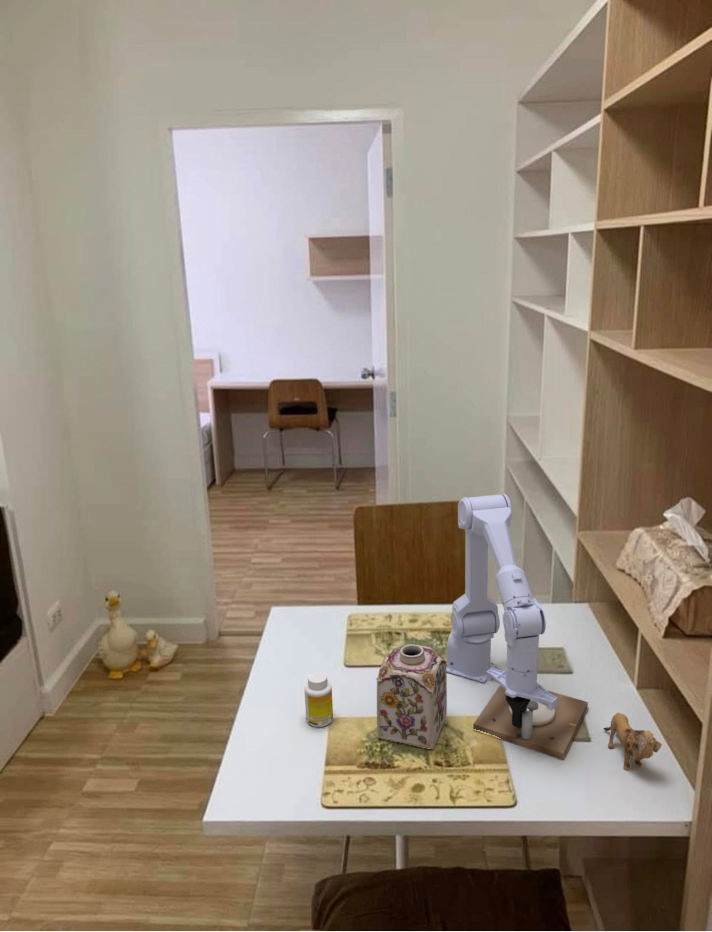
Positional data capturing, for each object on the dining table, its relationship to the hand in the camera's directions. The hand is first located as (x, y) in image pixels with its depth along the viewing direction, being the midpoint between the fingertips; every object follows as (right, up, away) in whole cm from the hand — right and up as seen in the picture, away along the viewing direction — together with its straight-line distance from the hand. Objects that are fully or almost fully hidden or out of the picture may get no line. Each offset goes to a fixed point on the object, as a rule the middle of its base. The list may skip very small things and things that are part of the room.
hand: (519, 724), depth 140 cm
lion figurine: (+20, -5, -4) cm, 21 cm away
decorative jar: (-20, -3, +6) cm, 21 cm away
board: (+4, -1, +7) cm, 9 cm away
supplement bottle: (-39, -2, +9) cm, 40 cm away
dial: (+3, 0, +5) cm, 6 cm away
